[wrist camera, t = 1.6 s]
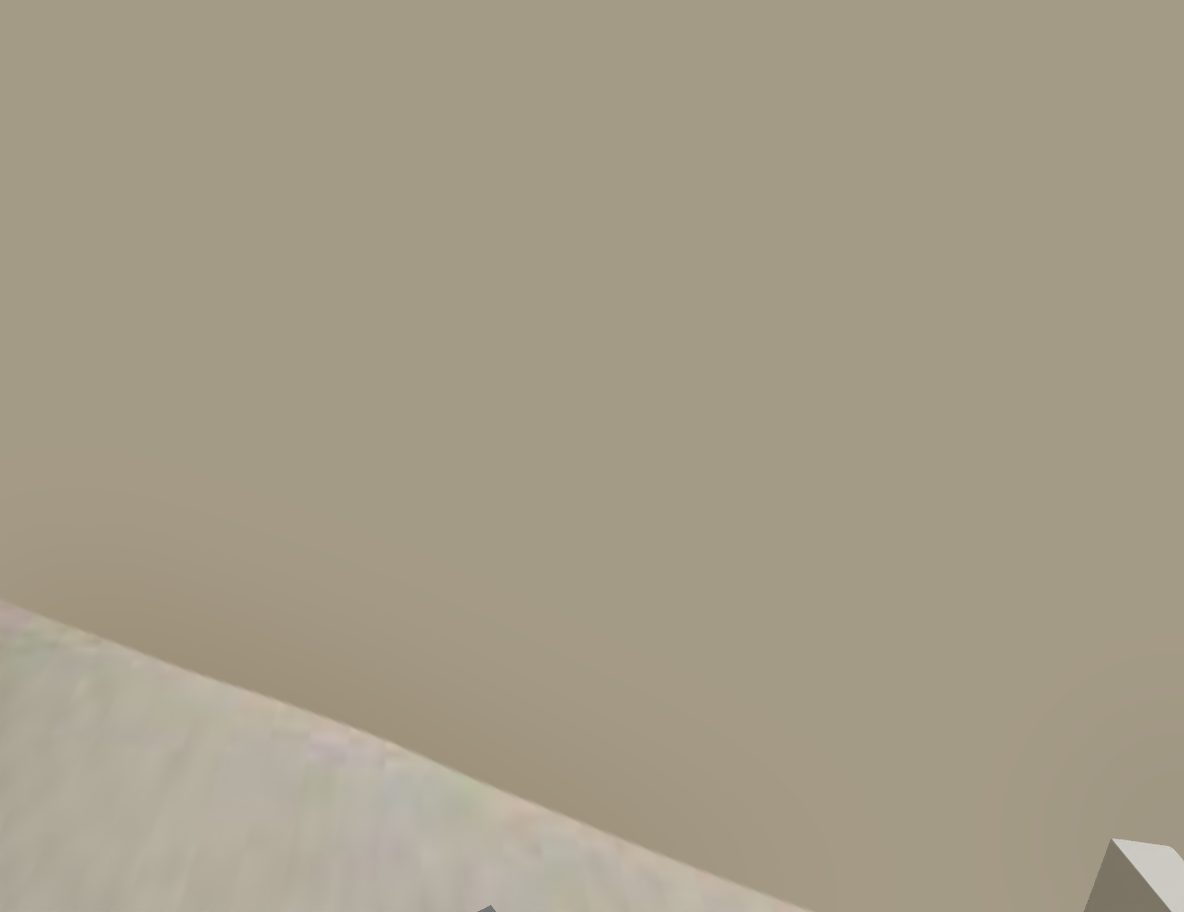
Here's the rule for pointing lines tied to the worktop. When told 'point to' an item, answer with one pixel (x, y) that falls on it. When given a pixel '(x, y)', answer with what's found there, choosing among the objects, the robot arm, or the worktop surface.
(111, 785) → the worktop surface
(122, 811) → the worktop surface
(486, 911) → the gray square frame
